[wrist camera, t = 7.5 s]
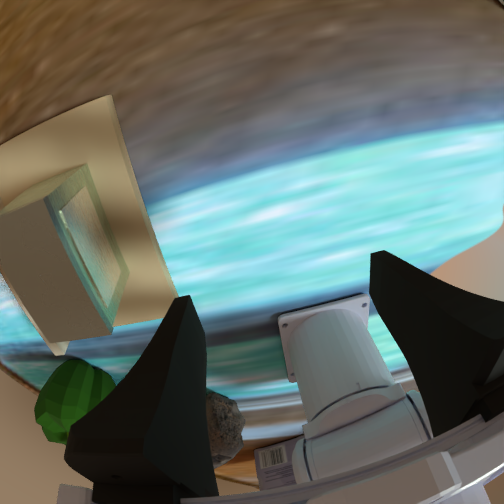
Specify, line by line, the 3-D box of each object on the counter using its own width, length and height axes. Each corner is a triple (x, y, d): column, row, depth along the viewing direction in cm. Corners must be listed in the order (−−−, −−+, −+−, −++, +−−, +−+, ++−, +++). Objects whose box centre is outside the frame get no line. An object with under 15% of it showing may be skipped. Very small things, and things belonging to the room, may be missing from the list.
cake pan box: (258, 460, 42) (275, 560, 27) (244, 450, 39) (260, 560, 24) (378, 418, 40) (416, 518, 24) (374, 404, 37) (418, 516, 22)
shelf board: (181, 304, 24) (179, 338, 21) (66, 325, 24) (53, 355, 21) (111, 94, 16) (90, 98, 13) (-16, 156, 16) (-46, 172, 13)
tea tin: (31, 184, 17) (-19, 226, 12) (88, 161, 17) (43, 198, 12) (77, 285, 21) (49, 343, 16) (131, 272, 21) (112, 334, 16)
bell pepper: (43, 373, 27) (19, 450, 19) (63, 335, 25) (31, 426, 16) (108, 406, 31) (97, 482, 22) (139, 376, 28) (129, 467, 20)
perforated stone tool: (206, 444, 37) (209, 489, 31) (168, 438, 36) (168, 484, 30) (253, 386, 31) (262, 444, 25) (204, 376, 29) (206, 438, 23)
